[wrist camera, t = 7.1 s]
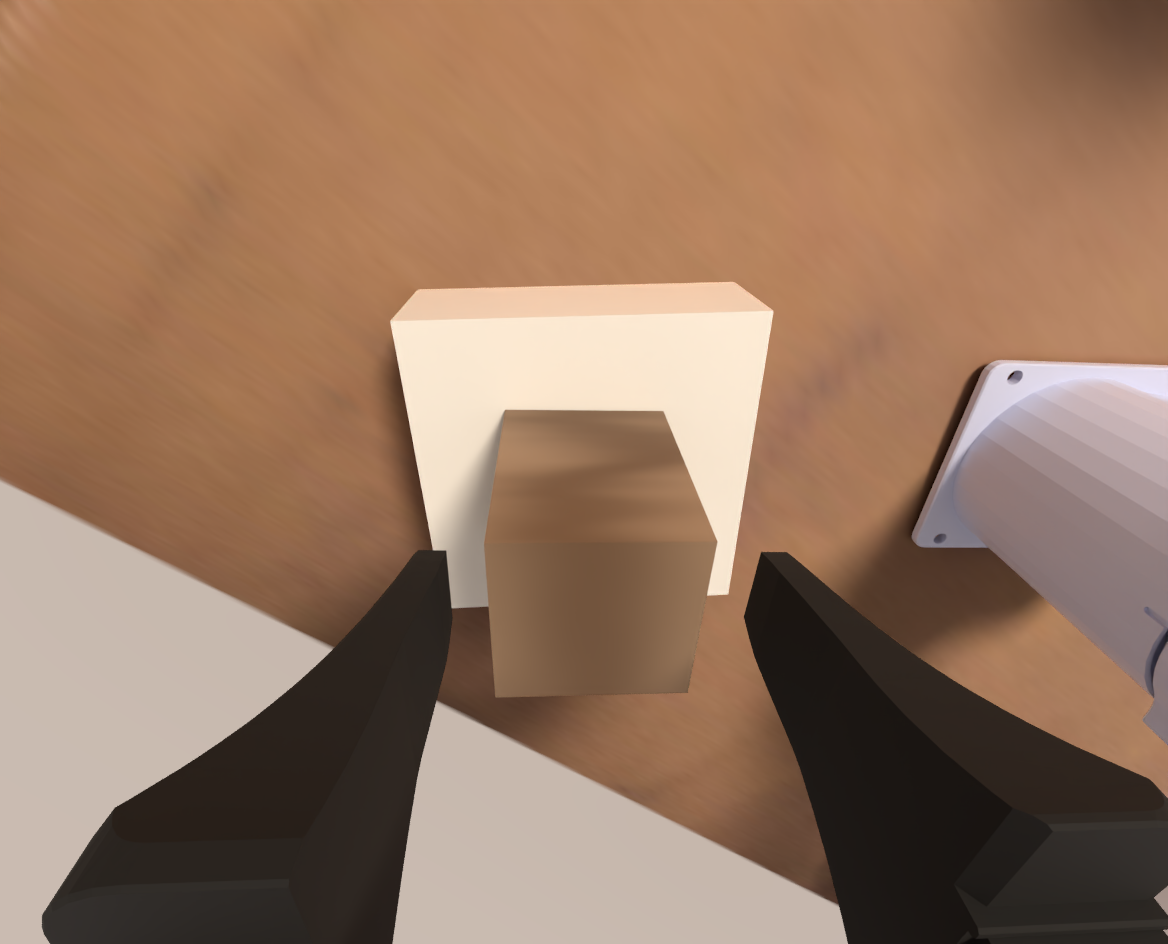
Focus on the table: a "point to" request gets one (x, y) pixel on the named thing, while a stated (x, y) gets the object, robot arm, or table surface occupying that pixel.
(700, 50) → the table surface
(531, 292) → the ceramic base
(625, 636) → the walnut block
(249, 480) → the table surface
